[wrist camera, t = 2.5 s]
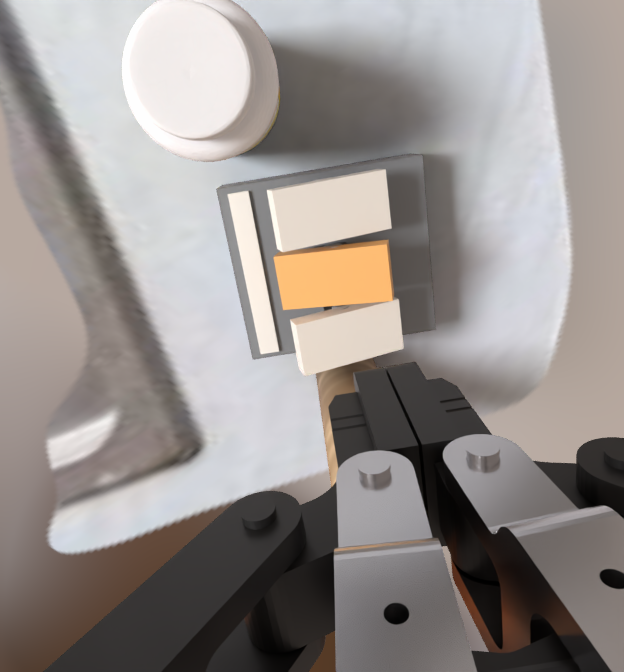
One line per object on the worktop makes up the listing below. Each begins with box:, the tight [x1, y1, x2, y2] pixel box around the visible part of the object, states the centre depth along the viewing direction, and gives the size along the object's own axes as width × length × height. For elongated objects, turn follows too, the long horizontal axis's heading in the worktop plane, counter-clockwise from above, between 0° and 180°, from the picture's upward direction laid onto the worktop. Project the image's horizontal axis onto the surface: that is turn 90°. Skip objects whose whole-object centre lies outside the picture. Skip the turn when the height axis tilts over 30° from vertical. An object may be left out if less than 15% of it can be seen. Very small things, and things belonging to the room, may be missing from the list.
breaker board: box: [216, 154, 436, 359], centre depth 27 cm, size 9×10×4 cm
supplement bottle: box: [122, 0, 280, 162], centre depth 21 cm, size 6×6×10 cm
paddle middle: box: [273, 240, 394, 310], centre depth 24 cm, size 3×5×2 cm, turn 99°
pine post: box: [316, 358, 377, 487], centre depth 25 cm, size 4×4×14 cm
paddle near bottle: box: [267, 169, 392, 252], centre depth 23 cm, size 3×5×2 cm, turn 99°
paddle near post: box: [290, 297, 404, 376], centre depth 25 cm, size 3×5×1 cm, turn 99°
